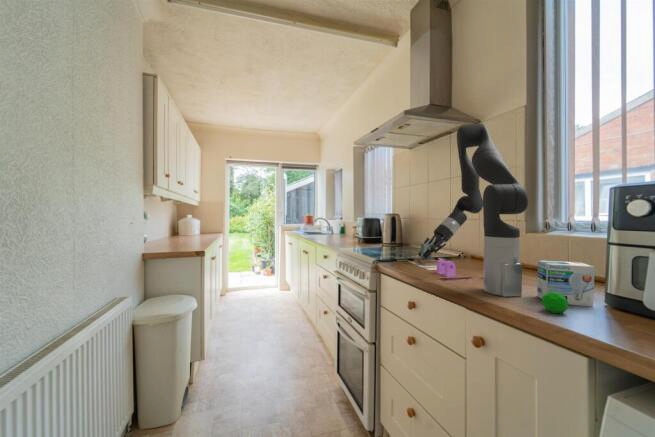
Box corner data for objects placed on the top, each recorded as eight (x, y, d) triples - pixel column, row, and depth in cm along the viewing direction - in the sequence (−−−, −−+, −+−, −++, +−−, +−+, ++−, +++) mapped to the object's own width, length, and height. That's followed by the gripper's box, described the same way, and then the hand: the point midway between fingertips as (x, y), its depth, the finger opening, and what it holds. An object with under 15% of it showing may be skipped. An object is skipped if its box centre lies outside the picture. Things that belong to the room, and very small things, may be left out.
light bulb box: (546, 303, 74) (547, 263, 74) (535, 296, 81) (536, 259, 80) (595, 307, 71) (596, 266, 71) (579, 299, 77) (580, 261, 77)
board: (453, 272, 112) (453, 269, 112) (428, 273, 110) (428, 269, 110) (428, 263, 132) (428, 260, 132) (406, 264, 130) (406, 261, 130)
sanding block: (438, 265, 119) (438, 245, 119) (425, 265, 118) (425, 245, 118) (426, 261, 129) (426, 242, 129) (414, 261, 128) (414, 242, 128)
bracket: (447, 280, 99) (447, 261, 99) (436, 277, 104) (436, 259, 104) (475, 278, 103) (475, 260, 103) (463, 275, 108) (463, 257, 108)
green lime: (569, 312, 67) (569, 293, 67) (566, 317, 64) (567, 297, 64) (543, 307, 71) (543, 289, 71) (539, 311, 67) (540, 292, 67)
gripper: (433, 223, 131) (409, 248, 130) (450, 224, 118) (424, 253, 116) (443, 234, 132) (419, 259, 131) (461, 236, 118) (435, 265, 117)
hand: (421, 256), depth 123 cm, fingers closed on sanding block, 3 cm apart
